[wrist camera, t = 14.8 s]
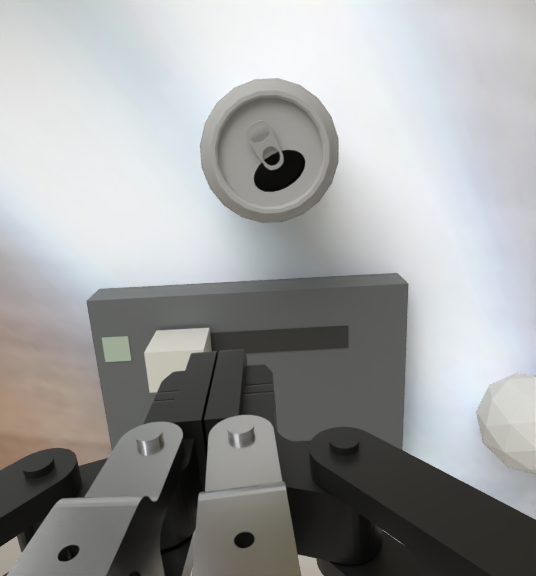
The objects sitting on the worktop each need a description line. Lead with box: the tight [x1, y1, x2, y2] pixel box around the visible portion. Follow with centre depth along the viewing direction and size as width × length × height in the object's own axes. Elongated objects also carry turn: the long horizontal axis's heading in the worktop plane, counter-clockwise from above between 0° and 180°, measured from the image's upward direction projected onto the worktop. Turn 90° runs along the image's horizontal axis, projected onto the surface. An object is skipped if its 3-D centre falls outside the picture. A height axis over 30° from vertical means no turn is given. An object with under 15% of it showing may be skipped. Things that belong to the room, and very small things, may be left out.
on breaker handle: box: [144, 328, 212, 393], centre depth 34 cm, size 4×3×4 cm
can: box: [200, 78, 338, 222], centre depth 30 cm, size 8×8×12 cm
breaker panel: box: [87, 273, 408, 451], centre depth 39 cm, size 24×18×3 cm
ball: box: [476, 373, 536, 474], centre depth 38 cm, size 8×8×8 cm
